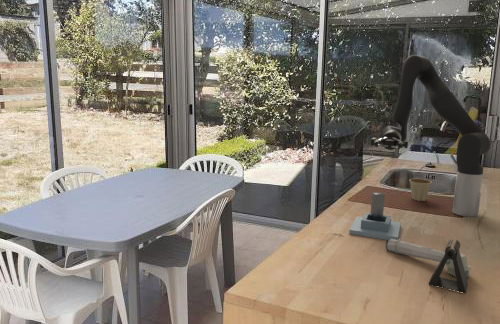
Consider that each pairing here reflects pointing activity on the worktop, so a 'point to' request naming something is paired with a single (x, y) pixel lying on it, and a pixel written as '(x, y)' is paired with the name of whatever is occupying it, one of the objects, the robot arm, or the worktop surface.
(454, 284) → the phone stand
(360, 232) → the block
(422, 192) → the flower pot
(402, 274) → the worktop surface
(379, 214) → the steel axle
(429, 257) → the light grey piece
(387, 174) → the worktop surface
